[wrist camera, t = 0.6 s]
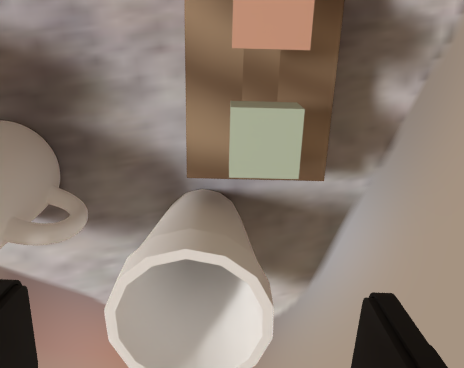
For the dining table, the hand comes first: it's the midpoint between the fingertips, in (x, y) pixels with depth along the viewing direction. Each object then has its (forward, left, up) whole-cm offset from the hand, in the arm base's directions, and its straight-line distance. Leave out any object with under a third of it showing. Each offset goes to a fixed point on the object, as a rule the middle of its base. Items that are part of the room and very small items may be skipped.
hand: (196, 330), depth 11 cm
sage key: (-2, +3, -18) cm, 18 cm away
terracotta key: (-9, +3, -18) cm, 20 cm away
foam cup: (+7, -1, -22) cm, 23 cm away
